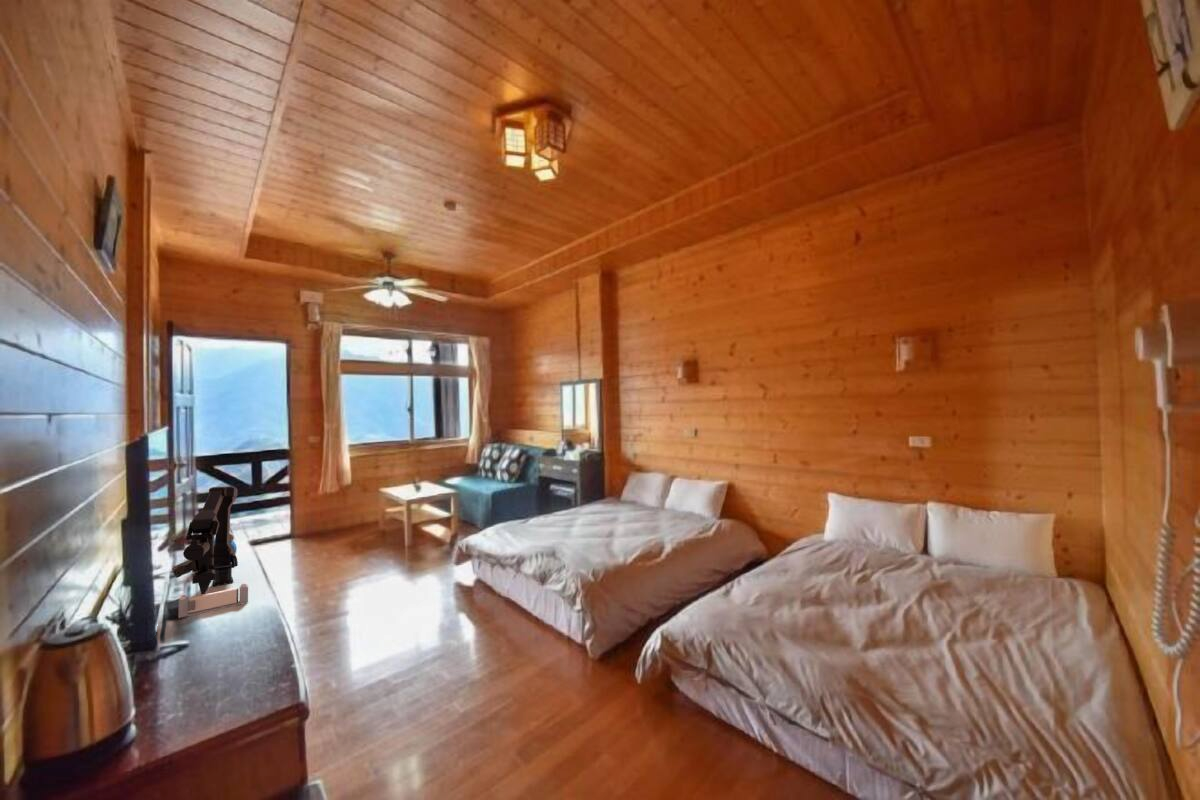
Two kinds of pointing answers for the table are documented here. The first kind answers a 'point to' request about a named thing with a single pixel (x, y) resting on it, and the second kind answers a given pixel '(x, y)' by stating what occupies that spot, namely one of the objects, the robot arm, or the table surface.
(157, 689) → the table surface
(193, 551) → the robot arm
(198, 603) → the gate
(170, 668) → the table surface
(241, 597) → the gate frame
